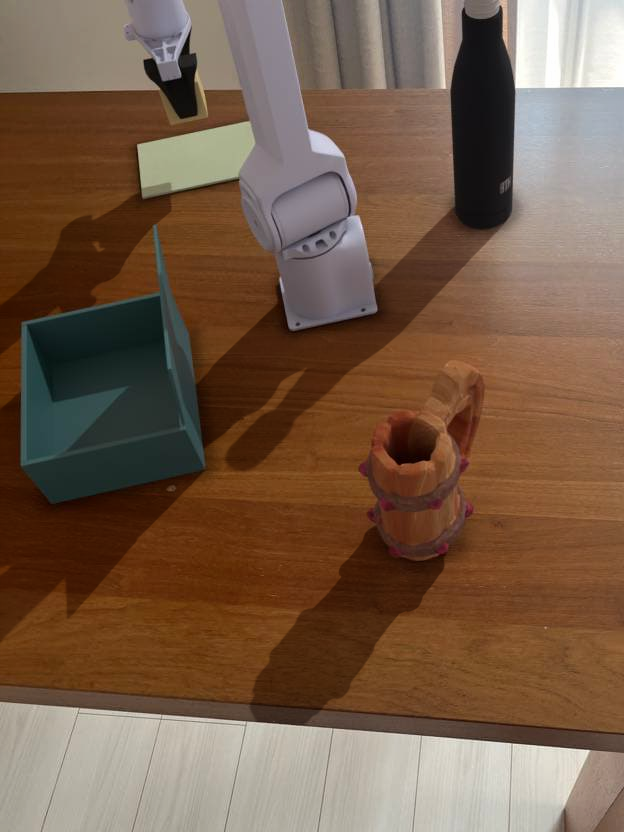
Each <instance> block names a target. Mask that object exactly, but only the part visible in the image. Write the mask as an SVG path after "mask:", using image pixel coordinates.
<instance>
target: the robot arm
mask: <svg viewBox="0 0 624 832" xmlns="http://www.w3.org/2000/svg"><path fill="white" fill-rule="evenodd" d="M124 3H125V6H126V9H127V11H128V14H129V18H130V20H131V22H130V23H127V24H124V25H123V34H124V38H125V39H126V41H137V42H138V44H140V45H141V46H142V47H143V49H144V50H145V51H146V52H147V53H148V55H149V56H150V58H145V59H142V63H143V69H144V72H145V75H146V76H147V78H148V79H149V80H150V81H151V82H153V83H154V85H156V86H157V88H158V87H159V88H160V89H161V90H162V91H163V93H164V94H165V96H166V97H167V99H168V100H169V102H170V104H171V106H172V107H173V109H174V111H175V112H176V114H177V115H178V117H179V118H180V119H185V118H189V117H194V116H197V115H198V107H197V99H196V93H195V74H196V70H198V57H197V52H191V49H190V47H191V45H190V44H191V34H192V30H193V26H192V20H191V17H190V14H189V13H188V11H187V10H186V7H185V3H184V0H124ZM217 3H218V7H219V11H220V14H221V19H222V22H223V26H224V30H225V34H226V37H227V41H228V44H229V48H230V53H231V56H232V61H233V64H234V67H235V70H236V71H235V72H236V75H237V79H238V82H239V86H240V89H241V90H240V91H241V93H242V97H243V101H244V105H245V109H246V113H247V116H248V121H250V124H251V128H252V131H253V135H254V139H255V145H254V147H253V149H252V151H251V152H250V154H249V156H248V157H247V159H246V160H245V162H244V164H243V165H242V167H241V169H240V171H239V173H238V176H239V179H238V180H239V181H238V185H239V190H240V194H241V195H240V196H241V199H240V204H241V205H240V206H241V209H242V212H243V215H244V218H245V220H246V222H247V225H248V227H249V229H250V231H251V233H252V235H253V236H254V238H255V239H256V241H257V243H258V244H259V245H260V246H261V248H262V249H263V250H264V251H266V252H269V253H271V254H272V255H274V258H275V263H276V266H277V270H278V273H279V276H280V277H278V281H279V287H280V292H281V296H282V300H283V301H282V302H283V305H284V306H283V307H284V310H285V316H286V322H287V327H288V330H290V332H295V331H300V330H305V329H308V328H309V329H310V328H315V327H318V326H322V325H328V324H332V323H337V322H342V321H346V320H350V319H355V318H360V317H363V316H368V315H374V314H376V313H377V312H378V305H377V301H376V295H375V288H374V281H373V280H375V277H374V270H373V267H372V263H371V261H370V255H369V251H368V246H367V242H366V236H365V232H364V227H363V224H362V220H361V218H360V215H358V214H357V215H355V214H356V212H357V211H356V210H357V205H358V196H357V195H358V194H357V190H356V186H355V184H354V181H353V179H352V176H351V173H350V172H349V168H348V166H347V161H346V157H345V155H344V152H342V150H341V149H340V148H339V147H338V146H337V144H335V142H334V141H333V140H332V139H331V138H330V137H328V136H327V135H326V134H324V133H322V132H320V131H316V130H313V129H309V126H308V121H307V120H308V119H307V115H306V111H305V110H306V109H305V106H304V102H303V96H302V91H301V87H300V81H299V77H298V76H299V75H298V72H297V67H296V62H295V56H294V52H293V47H292V42H291V38H290V33H289V26H288V23H287V19H286V13H285V8H284V3H283V0H217Z"/></svg>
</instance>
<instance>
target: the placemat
mask: <svg viewBox="0 0 624 832" xmlns="http://www.w3.org/2000/svg"><path fill="white" fill-rule="evenodd" d="M254 145H255V139H254V135H253V131H252V128H251V124H250V120H248V121H242V122H238V123H234V124H233V123H232V124H228V125H223V126H219V127H215V128H210V129H209V128H208V129H204V130H200V131H195V132H191V133H186V134H181V135H176V136H171V137H166V138H162V139H156V140H153V141H148V142H143V143H137V155H138V156H137V157H138V167H139V168H138V169H139V179H140V187H141V189H140V190H141V196H142V197H141V198H142V200H145V199H150V198H155V197H159V196H163V195H168V194H173V193H178V192H184V191H187V190H193V189H197V188H201V187H206V186H212V185H215V184H221V183H224V182H225V183H226V182H231V181H233V180H240V179H239V176H238V173H239V171H240V169H241V167H242V165H243V164H244V162H245V160H246V159H247V157H248V156H249V154H250V152H251V151H252V149H253V147H254Z"/></svg>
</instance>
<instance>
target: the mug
mask: <svg viewBox="0 0 624 832" xmlns="http://www.w3.org/2000/svg"><path fill="white" fill-rule="evenodd" d="M435 378H436V379H435V381H434V383H433V386H432V389H431V391H430V393H429V396H428V397H427V399H426V401H425V403H424V404H423V406H422V407H421V408H420V410H419V412H418V413H413V412H412V411H410V410H407V409H405V410H400V411H397V412H394V413H392V414H391V415H390V416H389V417H388V418H387V421H386V422H381V423H379V424H378V425H377V426H376V428H375V429H374V430H373V434H372V438H371V439H370V445H371V449H370V451H369V453H368V455H367V457H366V460H364V461H362V462H361V463H360V464H359V466H358V467H357V471H358V472H359V473H360V474H361V475H362V476H363V477H365V478H367V480H368V484H369V488H370V490H371V491H372V493H373V495H374V497H375V498H377V500H376V503H375V506H372V507H370V508H368V510H367V511H366V516H367V519H368V520H369V521H370V522H372V523H375V525H376V528H377V530H378V533H379V536H380V537H381V539H382V541H383V542H384V543H385V544H386V546H388V554H389V555H390V557H392V558H394V559H396V558H400V557H401V558H404V559H408V560H411V561H413V562H414V561H416V562H417V561H426V560H431V559H432V558H436V557H438V556H440V555H443V554H445V553H447V552H448V551H449V547H450V546H451V545H452V544H453V543H454V542H455V541H456V540H457V539H458V538H459V536H460V535H461V532H462V531H463V529H464V527H465V523H466V520H467V518H470V517H471V516H472V515H473V513H474V506H473V504H472V503H470V502H469V501H466V497H465V493H464V490H463V488H462V487H461V486H462V485H460V483H459V480H460V477H461V474H462V473H464V472H465V471H466V470H467V469H468V467H469V465H470V462H469V461H468V459H469V458H470V455H471V451H472V446H473V443H474V440H475V437H476V434H477V431H478V427H479V423H480V420H481V417H482V413H483V406H484V399H485V391H486V390H485V389H486V385H485V382H484V381H485V380H484V378H483V375H482V373H481V371H480V369H479V368H476V367H474V366H473V365H470V364H469V363H465V362H463V361H459V360H455V359H450V360H449V361H447V362H446V363H444V364H443V366H441V368H440V370H439V371H438V373H437V376H436V377H435Z"/></svg>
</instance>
